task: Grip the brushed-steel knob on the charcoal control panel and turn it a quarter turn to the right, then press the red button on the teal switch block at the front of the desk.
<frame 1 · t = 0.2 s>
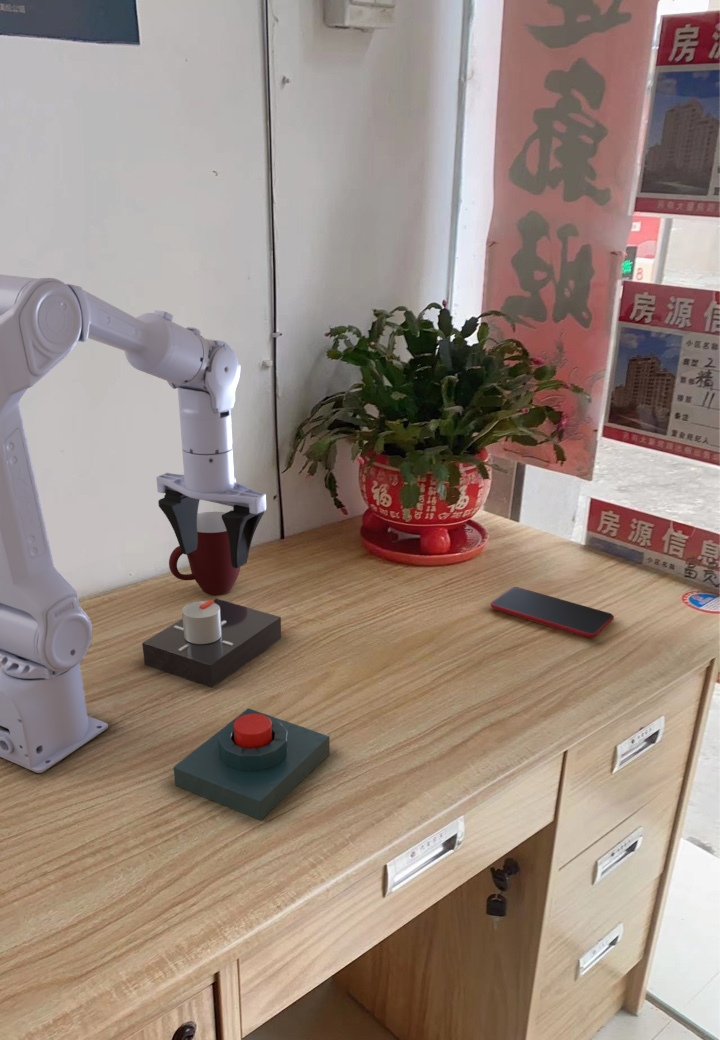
hand: (214, 558, 107), 10 cm above the table, tool pointing down, fingers open, 7 cm apart
knob: (202, 621, 103), point 5 cm above the table, hinge at 0.0°
panel: (215, 651, 107), on the table
button: (252, 731, 84), point 4 cm above the table, slide at 0.1 cm
mug: (209, 593, 122), on the table
smartphone: (550, 616, 118), on the table
switch block: (254, 769, 86), on the table
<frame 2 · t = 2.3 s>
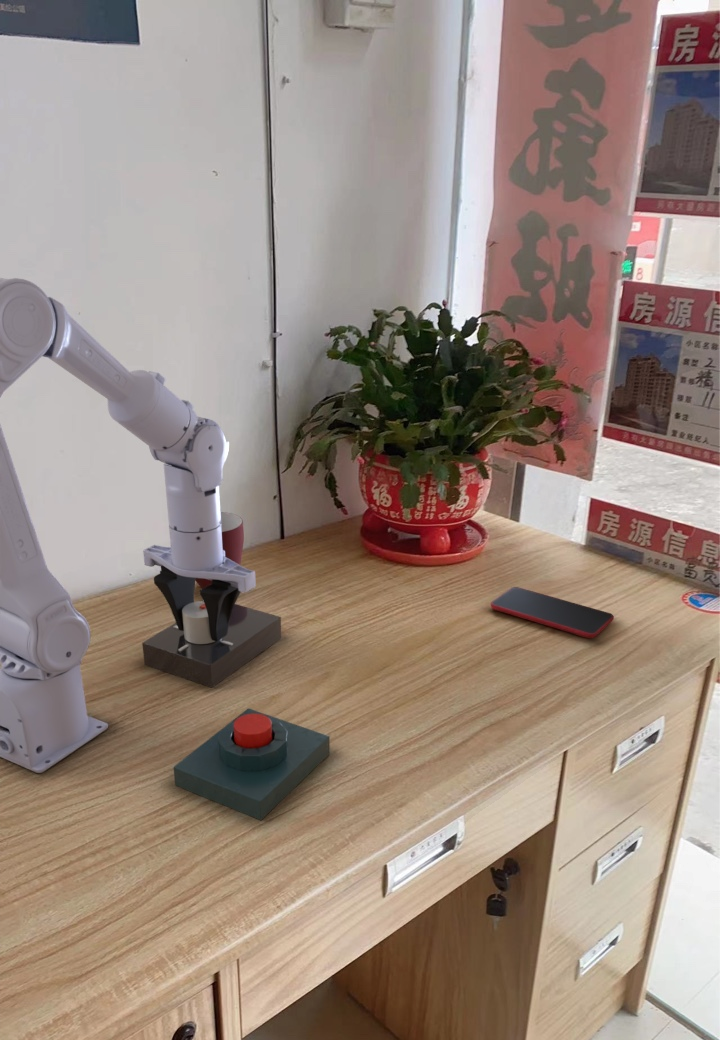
hand: (203, 632, 104), 4 cm above the table, tool pointing down, fingers closed on knob, 4 cm apart
knob: (202, 621, 103), point 5 cm above the table, hinge at 0.0°, touching gripper
everything else where it was.
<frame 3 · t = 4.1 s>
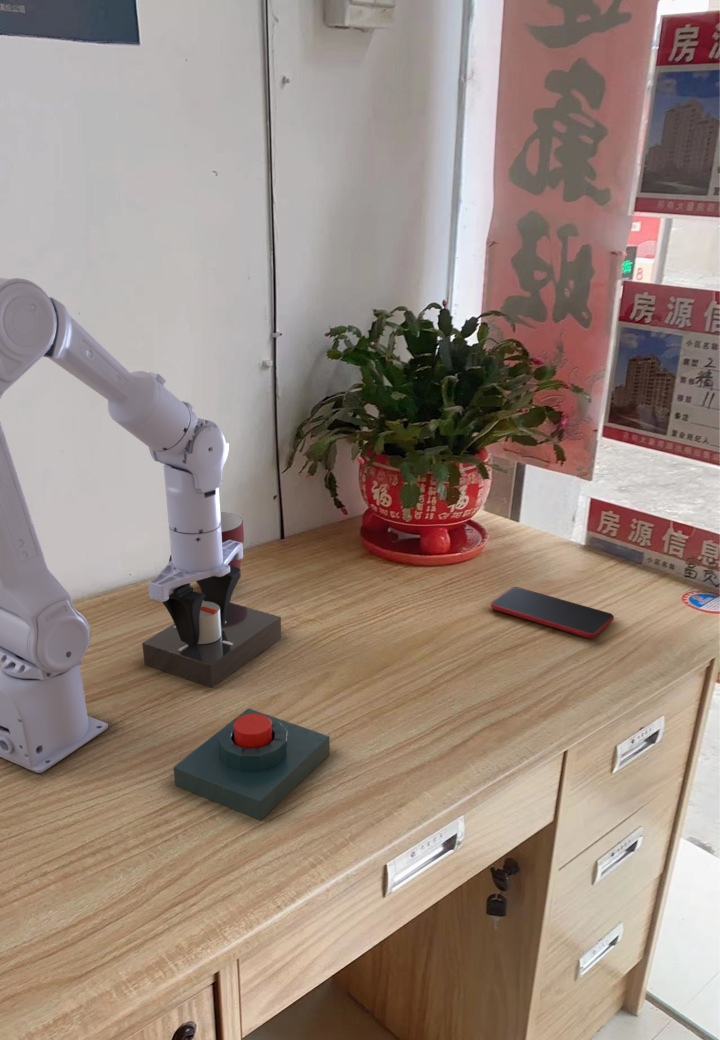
hand: (202, 633, 104), 3 cm above the table, tool pointing down, fingers closed on knob, 4 cm apart
knob: (202, 621, 103), point 5 cm above the table, hinge at -90.1°, touching gripper
everything else where it was.
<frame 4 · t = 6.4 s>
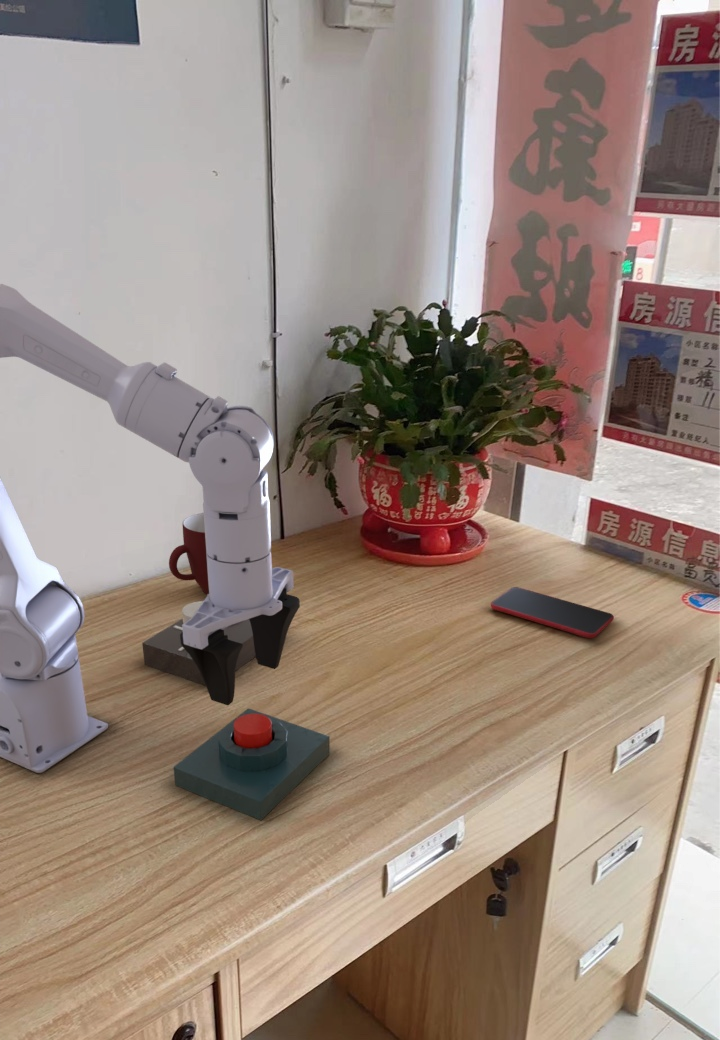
hand: (245, 682, 85), 8 cm above the table, tool pointing down, fingers open, 7 cm apart
knob: (202, 621, 103), point 5 cm above the table, hinge at -90.1°
everything else where it was.
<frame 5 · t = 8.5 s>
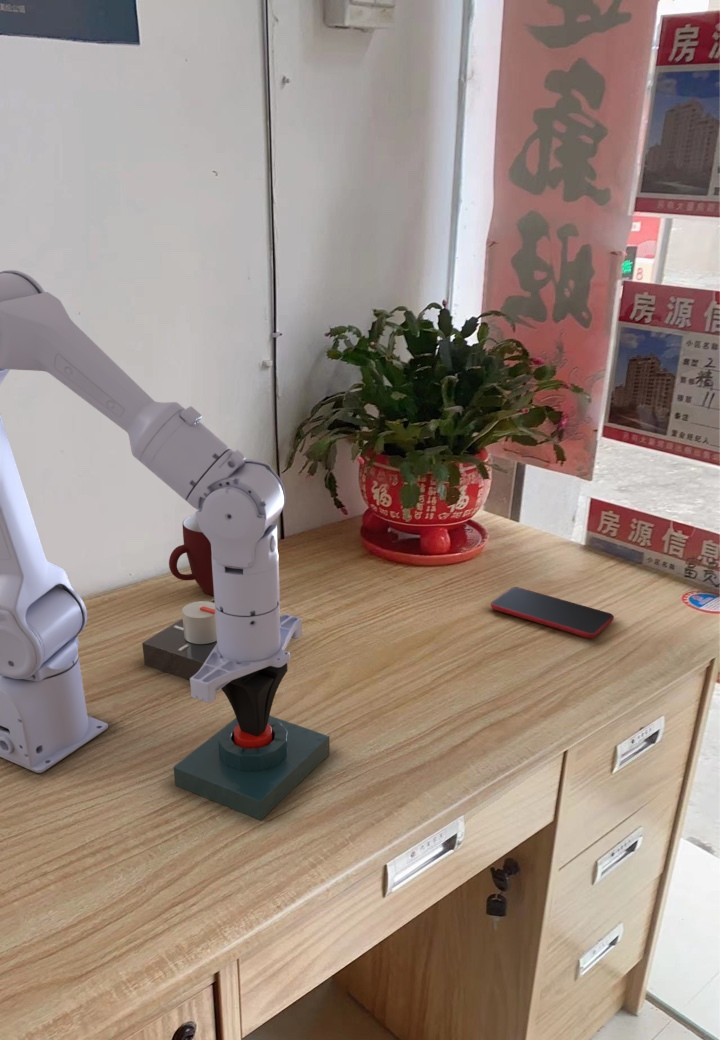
hand: (253, 730, 84), 5 cm above the table, tool pointing down, fingers closed, pressing on button
button: (253, 737, 85), point 4 cm above the table, slide at -0.6 cm, touching gripper
everything else where it was.
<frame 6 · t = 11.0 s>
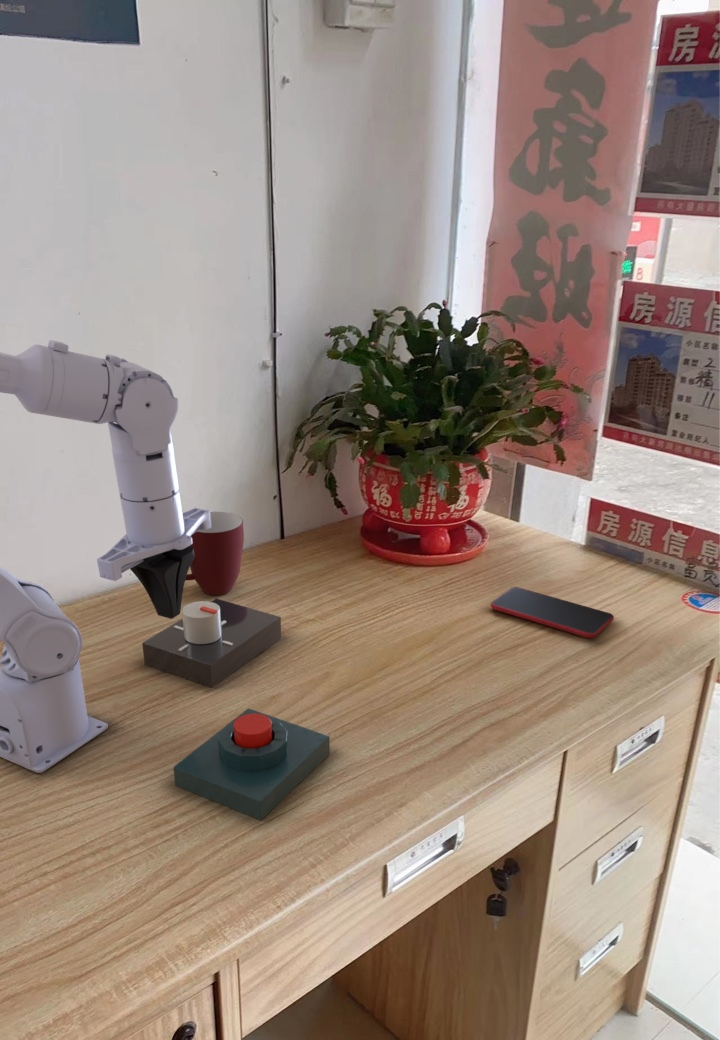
hand: (168, 614, 93), 10 cm above the table, tool pointing down, fingers closed
button: (252, 731, 84), point 5 cm above the table, slide at 0.1 cm
everything else where it was.
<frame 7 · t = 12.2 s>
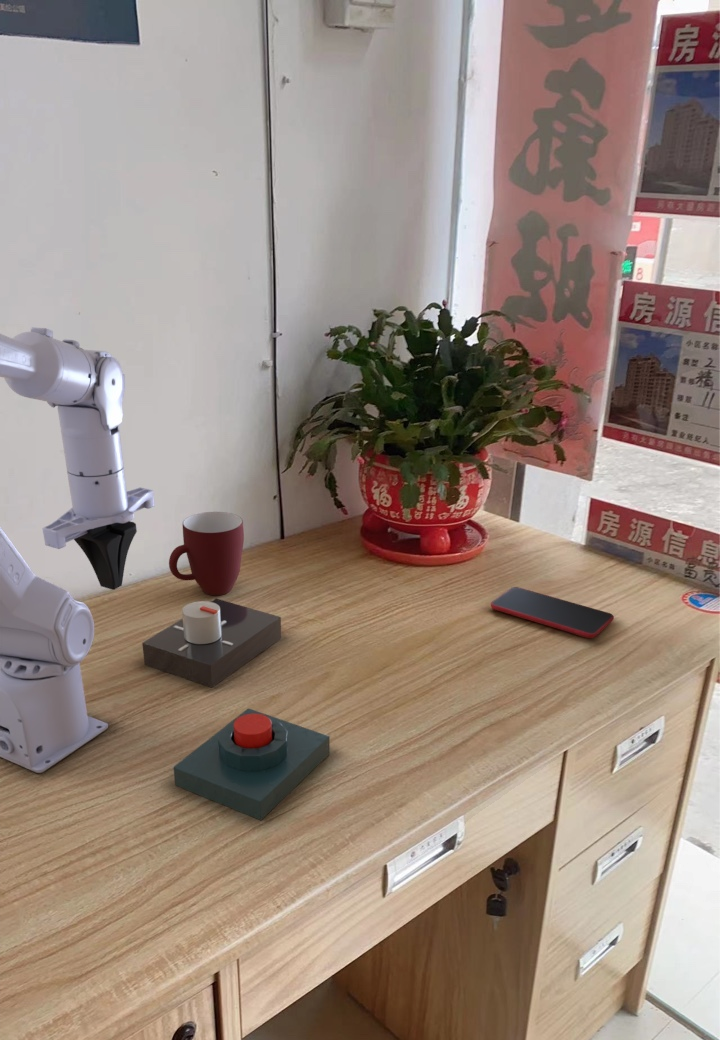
hand: (111, 585, 99), 10 cm above the table, tool pointing down, fingers closed
nothing on the table moved.
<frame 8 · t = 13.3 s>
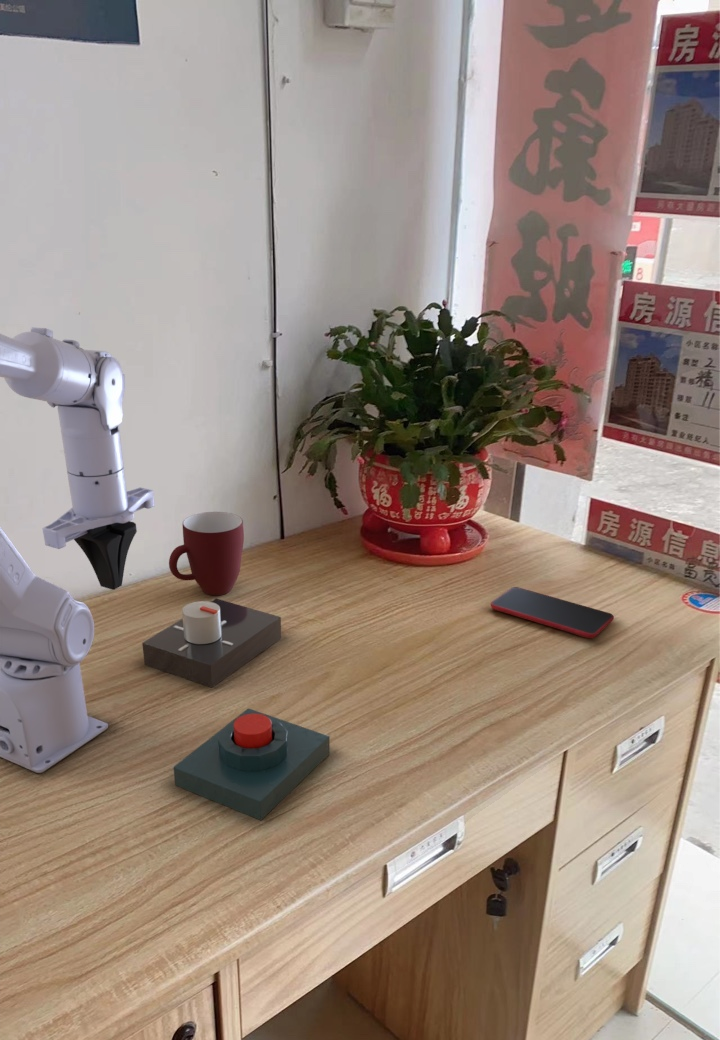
hand: (111, 585, 99), 10 cm above the table, tool pointing down, fingers closed
nothing on the table moved.
at the end: knob at -90° (first picture: +0°); button pushed in 1.2 cm at the most during the clip, back to where it started at the end; button slide at 0.1 cm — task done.
